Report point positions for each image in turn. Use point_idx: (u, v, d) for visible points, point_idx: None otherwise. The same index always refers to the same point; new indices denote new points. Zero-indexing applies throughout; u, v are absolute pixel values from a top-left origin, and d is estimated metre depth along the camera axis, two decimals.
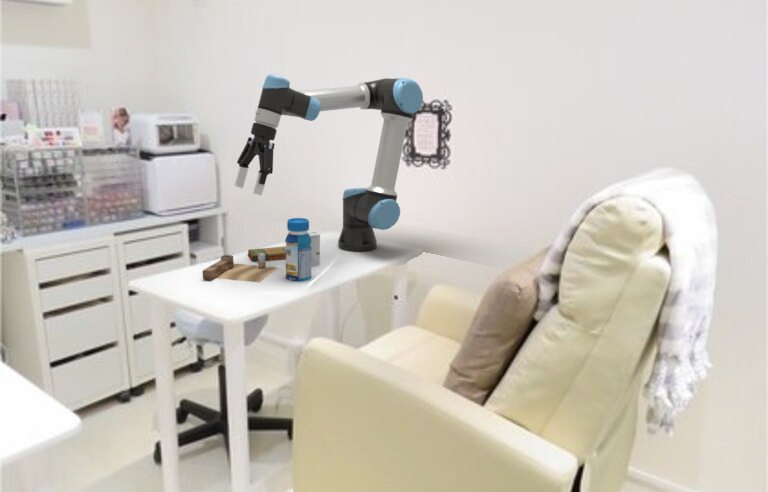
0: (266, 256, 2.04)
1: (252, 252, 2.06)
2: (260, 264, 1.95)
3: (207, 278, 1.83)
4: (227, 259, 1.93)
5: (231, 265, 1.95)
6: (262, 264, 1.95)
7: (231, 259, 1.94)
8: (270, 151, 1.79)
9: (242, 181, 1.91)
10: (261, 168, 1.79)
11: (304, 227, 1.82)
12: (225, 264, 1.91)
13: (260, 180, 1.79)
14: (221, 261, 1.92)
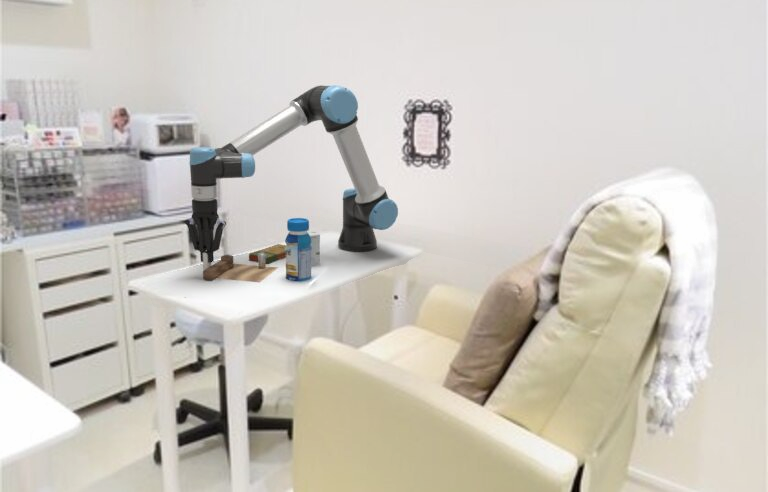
0: (275, 256, 2.05)
1: None
2: (260, 264, 1.95)
3: (208, 278, 1.83)
4: (227, 259, 1.93)
5: (231, 265, 1.95)
6: (262, 264, 1.95)
7: (231, 259, 1.94)
8: (221, 230, 1.82)
9: None
10: (208, 248, 1.83)
11: (304, 227, 1.82)
12: (225, 264, 1.91)
13: (209, 259, 1.85)
14: (221, 261, 1.92)
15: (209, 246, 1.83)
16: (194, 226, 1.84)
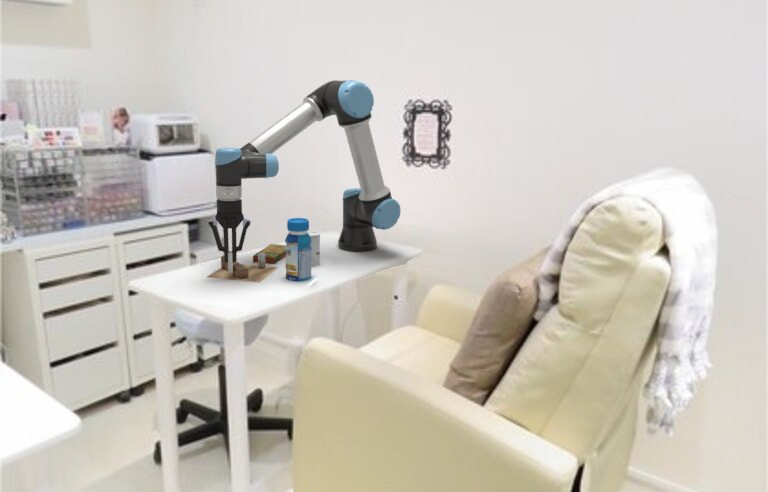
0: (280, 255, 2.06)
1: (265, 255, 2.02)
2: (260, 264, 1.95)
3: (244, 276, 1.85)
4: None
5: None
6: (262, 264, 1.95)
7: None
8: None
9: None
10: (234, 248, 1.84)
11: (304, 227, 1.82)
12: None
13: (234, 259, 1.85)
14: None
15: (235, 246, 1.84)
16: (216, 227, 1.83)
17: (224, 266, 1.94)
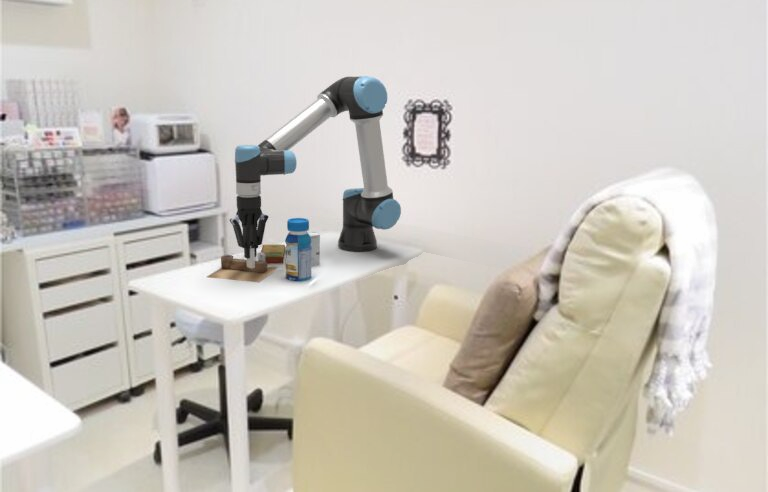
0: (283, 254, 2.07)
1: (272, 256, 2.02)
2: None
3: (265, 270, 1.92)
4: None
5: None
6: None
7: None
8: None
9: None
10: (255, 243, 1.88)
11: (304, 227, 1.82)
12: None
13: (255, 254, 1.89)
14: (235, 260, 1.94)
15: (256, 241, 1.88)
16: None
17: (228, 266, 1.94)
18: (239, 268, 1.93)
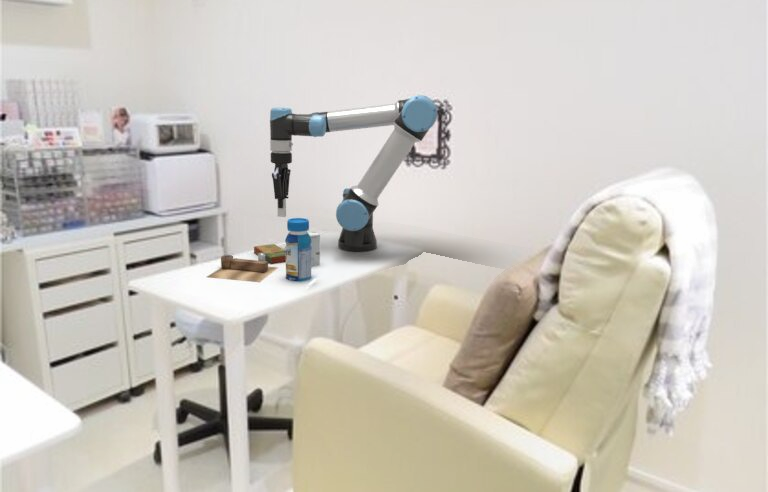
0: None
1: (281, 255, 2.04)
2: None
3: (266, 269, 1.93)
4: None
5: None
6: None
7: None
8: None
9: None
10: (286, 194, 2.15)
11: (304, 227, 1.82)
12: None
13: None
14: (235, 260, 1.94)
15: (286, 192, 2.15)
16: None
17: (228, 266, 1.94)
18: (240, 268, 1.93)
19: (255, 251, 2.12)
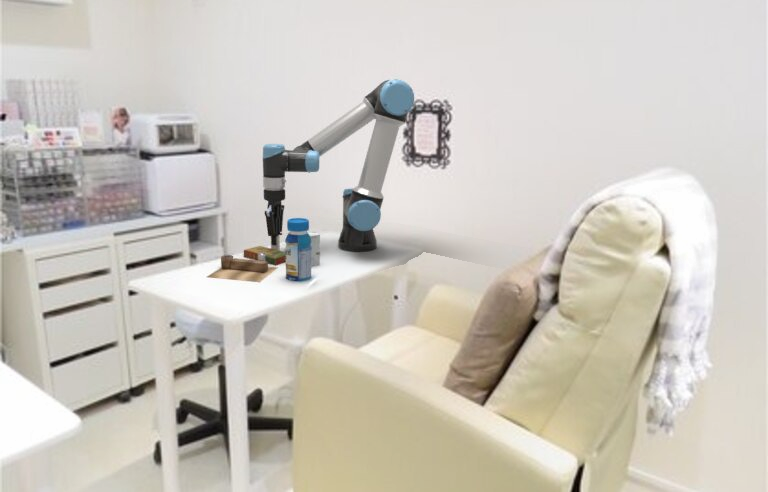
0: None
1: (282, 255, 2.03)
2: None
3: (266, 269, 1.93)
4: None
5: None
6: None
7: None
8: None
9: None
10: (279, 230, 2.12)
11: (304, 227, 1.82)
12: None
13: None
14: (235, 260, 1.94)
15: (279, 228, 2.12)
16: None
17: (228, 266, 1.94)
18: (240, 268, 1.93)
19: (246, 254, 2.08)
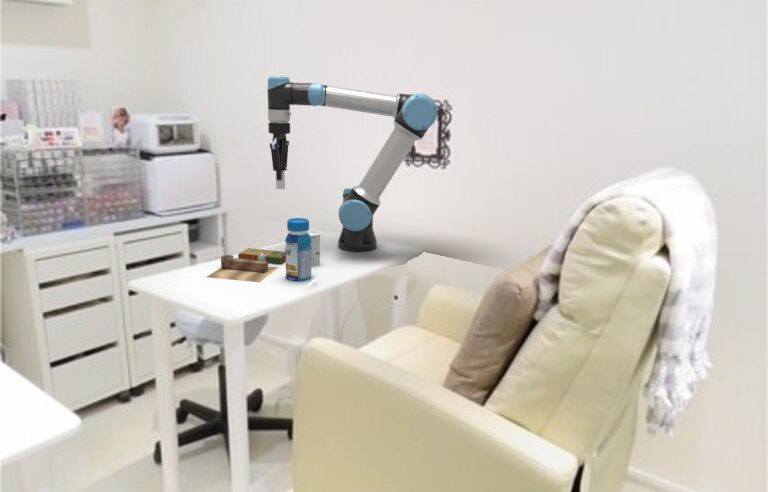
0: None
1: (284, 254, 2.05)
2: None
3: (266, 269, 1.93)
4: None
5: None
6: None
7: None
8: None
9: None
10: (284, 166, 2.11)
11: (304, 227, 1.82)
12: None
13: None
14: (235, 260, 1.94)
15: (284, 164, 2.11)
16: None
17: (228, 266, 1.94)
18: (240, 268, 1.93)
19: (242, 258, 2.04)
